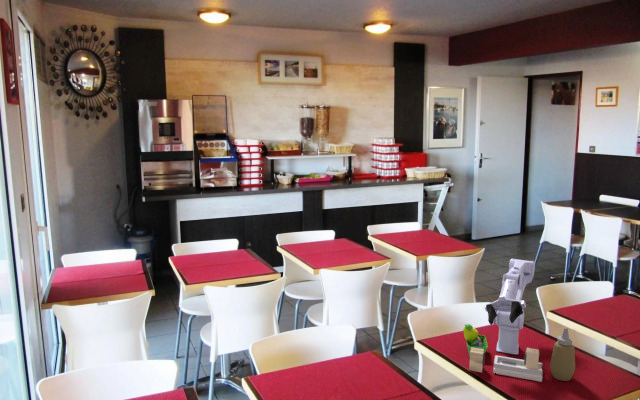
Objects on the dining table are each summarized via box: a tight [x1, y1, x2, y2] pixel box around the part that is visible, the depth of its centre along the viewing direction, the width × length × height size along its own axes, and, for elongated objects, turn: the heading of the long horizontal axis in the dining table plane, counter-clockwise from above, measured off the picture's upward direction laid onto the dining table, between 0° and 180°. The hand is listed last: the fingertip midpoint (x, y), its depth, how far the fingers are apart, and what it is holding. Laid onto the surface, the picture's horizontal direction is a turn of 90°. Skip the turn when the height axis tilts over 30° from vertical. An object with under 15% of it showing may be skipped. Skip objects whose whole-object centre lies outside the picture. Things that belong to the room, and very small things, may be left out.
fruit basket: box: [462, 323, 489, 358], centre depth 204 cm, size 11×9×11 cm
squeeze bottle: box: [549, 327, 576, 382], centre depth 184 cm, size 8×8×18 cm
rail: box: [492, 347, 543, 383], centre depth 189 cm, size 10×16×8 cm, turn 69°
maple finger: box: [468, 347, 486, 373], centre depth 190 cm, size 4×5×7 cm
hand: (500, 321), depth 186 cm, fingers open, 7 cm apart
